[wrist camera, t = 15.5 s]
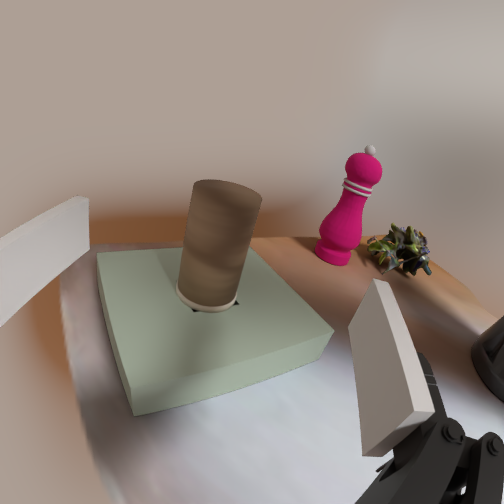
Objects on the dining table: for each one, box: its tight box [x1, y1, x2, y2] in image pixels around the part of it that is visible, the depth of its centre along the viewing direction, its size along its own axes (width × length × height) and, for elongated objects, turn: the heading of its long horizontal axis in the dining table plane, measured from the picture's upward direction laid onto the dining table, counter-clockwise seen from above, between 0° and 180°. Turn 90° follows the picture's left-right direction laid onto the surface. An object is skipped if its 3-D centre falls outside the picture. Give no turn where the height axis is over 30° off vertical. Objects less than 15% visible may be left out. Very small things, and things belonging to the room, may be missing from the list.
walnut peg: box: [176, 180, 262, 313], centre depth 25 cm, size 5×5×13 cm
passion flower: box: [367, 223, 432, 276], centre depth 49 cm, size 11×11×12 cm
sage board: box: [97, 246, 335, 417], centre depth 27 cm, size 18×16×4 cm
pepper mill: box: [315, 145, 382, 266], centre depth 45 cm, size 7×7×20 cm
